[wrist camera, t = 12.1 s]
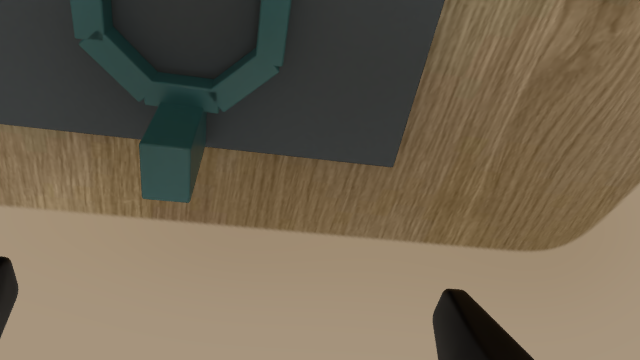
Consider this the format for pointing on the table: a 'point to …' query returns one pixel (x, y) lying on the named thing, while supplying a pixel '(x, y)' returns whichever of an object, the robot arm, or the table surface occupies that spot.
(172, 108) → the ring teal
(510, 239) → the table surface
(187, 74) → the mat
